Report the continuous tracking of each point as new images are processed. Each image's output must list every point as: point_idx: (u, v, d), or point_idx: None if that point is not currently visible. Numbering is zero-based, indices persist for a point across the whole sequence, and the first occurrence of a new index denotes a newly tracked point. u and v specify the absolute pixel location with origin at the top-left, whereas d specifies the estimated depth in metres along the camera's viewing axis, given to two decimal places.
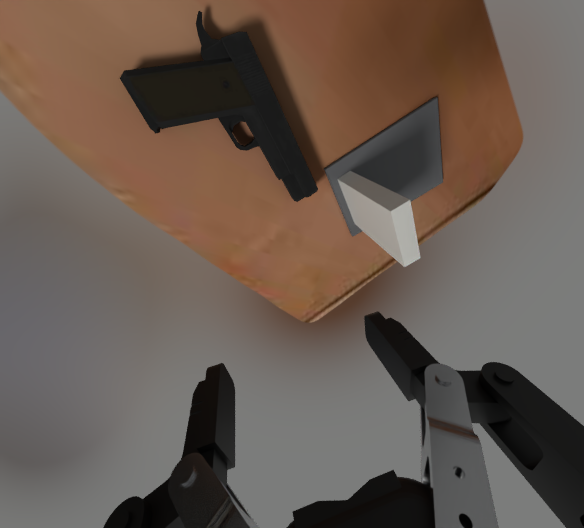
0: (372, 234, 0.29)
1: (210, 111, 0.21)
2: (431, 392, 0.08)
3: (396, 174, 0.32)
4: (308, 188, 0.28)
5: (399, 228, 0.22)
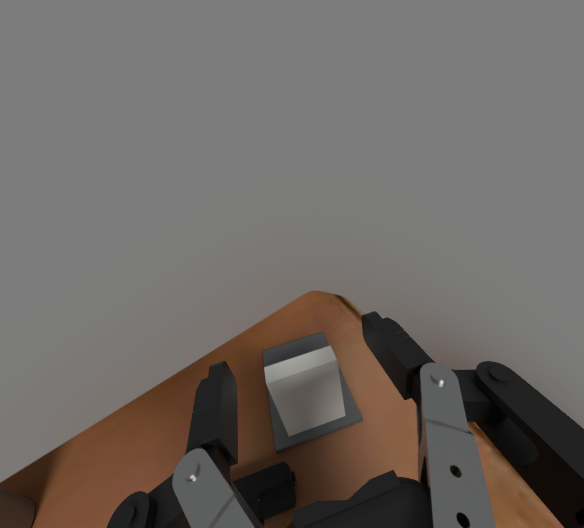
0: (331, 395, 0.27)
1: None
2: (427, 391, 0.08)
3: None
4: (279, 475, 0.25)
5: (286, 372, 0.24)
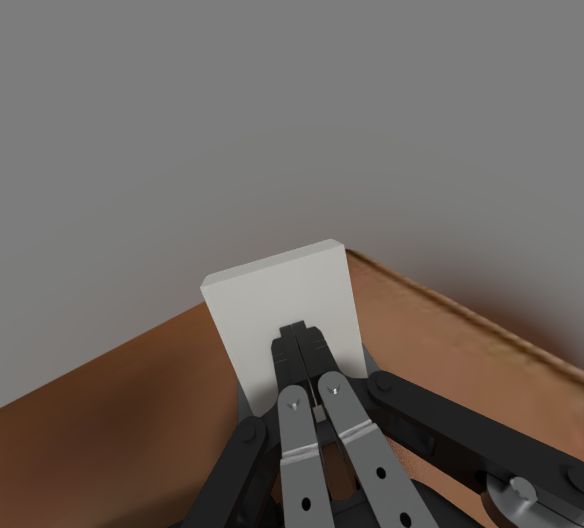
0: (341, 342, 0.14)
1: None
2: (331, 406, 0.08)
3: None
4: None
5: (244, 271, 0.12)
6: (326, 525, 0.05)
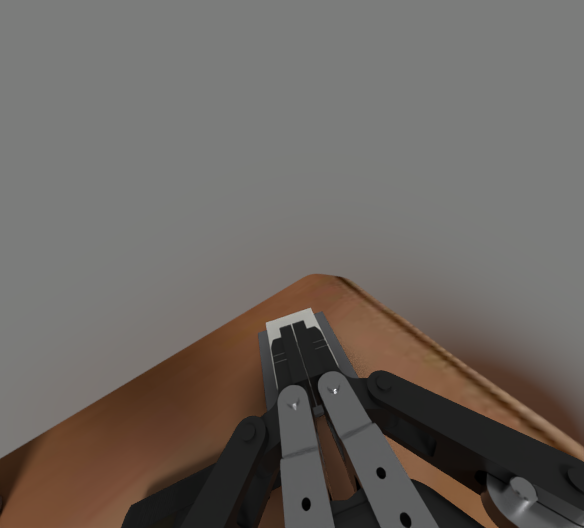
0: None
1: None
2: (331, 406, 0.08)
3: None
4: None
5: None
6: (326, 525, 0.05)
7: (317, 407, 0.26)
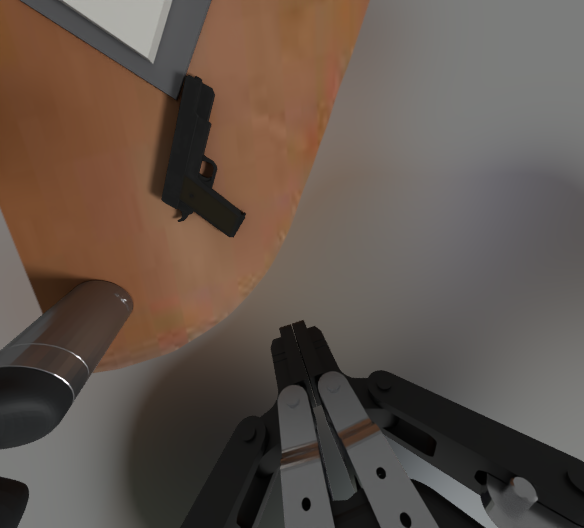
0: None
1: (211, 196, 0.33)
2: (331, 406, 0.08)
3: None
4: (193, 87, 0.27)
5: None
6: (326, 525, 0.05)
7: (187, 45, 0.27)
